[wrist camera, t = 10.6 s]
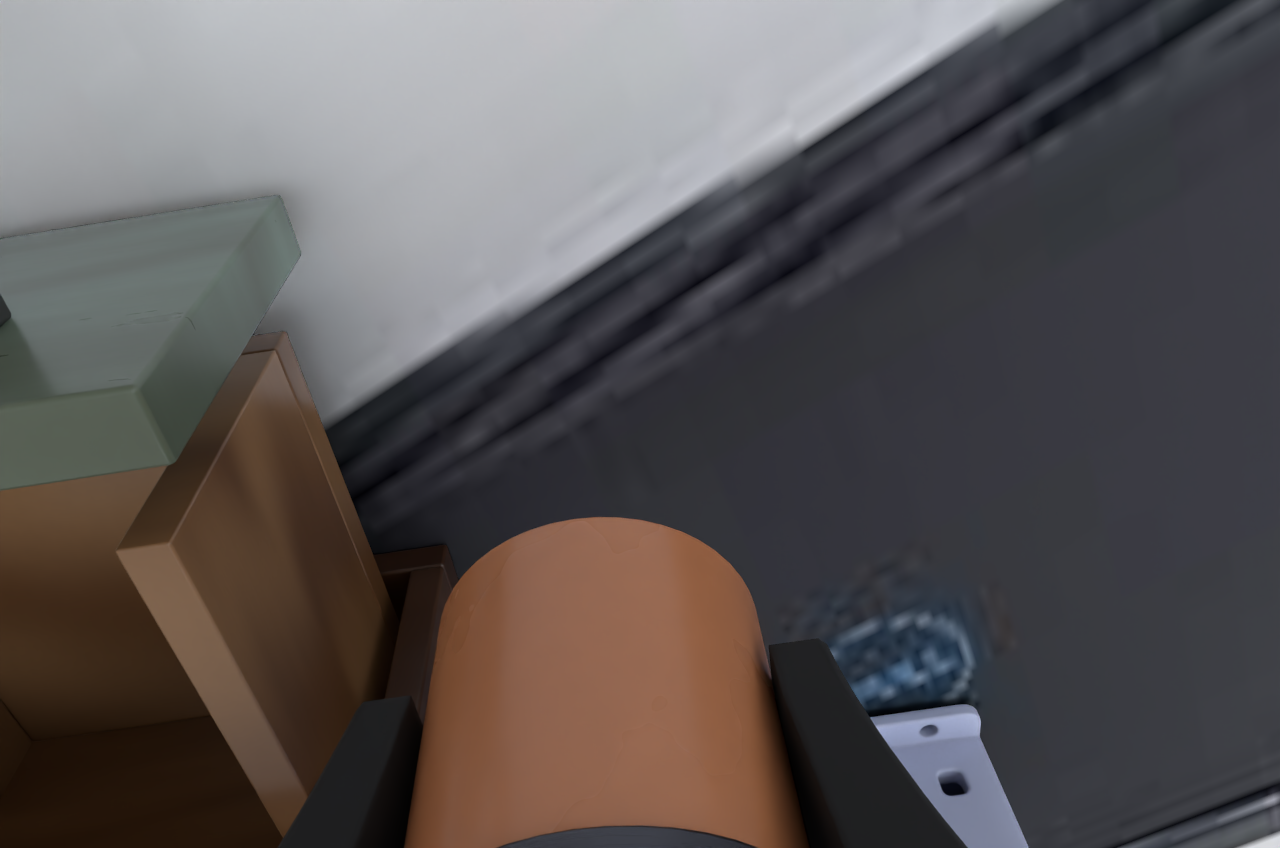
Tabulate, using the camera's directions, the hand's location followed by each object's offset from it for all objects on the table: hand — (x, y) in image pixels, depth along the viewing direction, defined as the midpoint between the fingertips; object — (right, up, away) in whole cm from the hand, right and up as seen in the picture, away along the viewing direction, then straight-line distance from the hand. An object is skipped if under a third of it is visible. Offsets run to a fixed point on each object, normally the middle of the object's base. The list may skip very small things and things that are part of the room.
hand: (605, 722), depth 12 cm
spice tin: (0, +1, +1) cm, 1 cm away
